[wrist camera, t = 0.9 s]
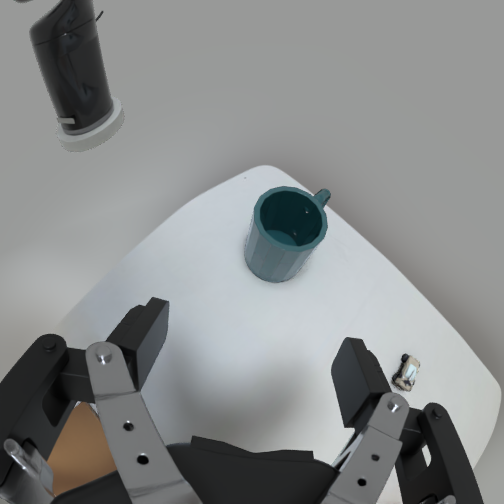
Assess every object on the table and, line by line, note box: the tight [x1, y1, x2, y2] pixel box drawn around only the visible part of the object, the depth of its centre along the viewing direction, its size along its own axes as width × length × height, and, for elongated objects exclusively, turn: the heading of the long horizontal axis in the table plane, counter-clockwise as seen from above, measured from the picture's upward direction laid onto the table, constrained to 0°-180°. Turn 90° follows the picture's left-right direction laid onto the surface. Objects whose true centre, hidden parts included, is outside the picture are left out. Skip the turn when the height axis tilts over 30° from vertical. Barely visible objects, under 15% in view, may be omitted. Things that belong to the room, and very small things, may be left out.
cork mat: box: [47, 402, 117, 496], centre depth 17 cm, size 14×14×1 cm
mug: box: [245, 186, 331, 282], centre depth 27 cm, size 10×6×8 cm
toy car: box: [393, 354, 420, 391], centre depth 25 cm, size 3×4×2 cm, turn 144°
